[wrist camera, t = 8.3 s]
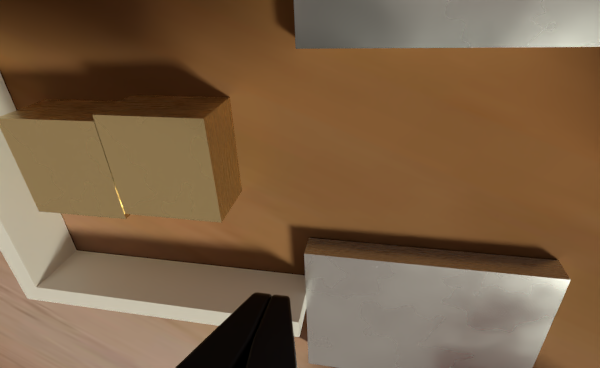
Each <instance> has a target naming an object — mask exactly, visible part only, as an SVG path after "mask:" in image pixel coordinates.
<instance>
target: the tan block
mask: <svg viewBox="0 0 600 368" xmlns="http://www.w3.org/2000/svg"><path fill="white" fill-rule="evenodd" d="M93 118H94V121H95V124H96V128H97V131H98V134H99V137H100V140H101V143H102V146H103V149H104V152H105V155H106V158H107V161H108V164H109V167H110V170H111V173H112V176H113V179H114V182H115V186H116V189H117V192H118V195H119V198H120V201H121V204H122V207H123V210H124V213H125V214H134V215H145V216H156V217H167V218H178V219H188V220H199V221H210V222H221V223H222V221H223V219H224V218H225V216H226V215H227V213H228V212H229V210H230V209H231V207H232V206H233V204H234V202H235V201H236V199H237V198H238V196H239V195H240V193H241V192H242V187H241V179H240V172H239V164H238V156H237V149H236V141H235V134H234V126H233V118H232V111H231V103H230V97H198V96H153V95H131V96H129V97H127V98H125V99H123V100H121V101H119V102H117V103H115V104H113V105H111V106H109V107H107V108H105V109H103V110H101V111H99V112H97V113H95V114H93Z"/></svg>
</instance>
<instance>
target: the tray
mask: <svg viewBox="0 0 600 368" xmlns="http://www.w3.org/2000/svg"><path fill="white" fill-rule="evenodd" d="M14 111H16V108H15V106H14V103H13V101H12V99H11V96H10V94H9V92H8V89H7V87H6V85H5V82H4V80H3V78H2V75H1V73H0V116H3V115H6V114H8V113H11V112H14ZM0 250H1V252H2V254H3V256H4V257H5V259H6V261H7V263H8V265H9V266H10V268H11V270H12V272H13V274H14V275H15V277H16V279H17V281H18V283H19V284H20V286H21V288H22V290H23V291H24V293H25V295H26V297H27V299H33V300H40V301H47V302H55V303H62V304H69V305H76V306H83V307H90V308H97V309H104V310H111V311H118V312H125V313H132V314H139V315H147V316H154V317H161V318H168V319H175V320H182V321H189V322H196V323H203V324H210V325H217V326H219V325H221V324H222V323H223V322H224V321H225V320H226V319H227V318H228V317H229V316H230V315H231V314H232V313H233V312H234V311H235V310H236V309H237V308H238V307H239V306H240V305H241V304H242V303H243V302H245V301H246V300H247V299H248V298H249V297H250V296H251V295H252V294H253V293H255V292H259V293H267V294H271V295H272V296H273V295H275V294H276V295H284V296H288V297H289V298H290V304H291V314H292V323H293V333H294V336H295V337H300V333H301V329H302V324H303V320H304V315H305V311H306V286H305V275H297V274H288V273H279V272H270V271H260V270H251V269H242V268H233V267H224V266H215V265H206V264H196V263H187V262H178V261H169V260H160V259H151V258H142V257H133V256H123V255H114V254H105V253H96V252H87V251H78V250H76V248H75V246H74V243H73V241H72V239H71V236H70V234H69V232H68V229H67V227H66V225H65V222H64V220H63V218H62V215H61V213H51V212H40V211H39V210H38V208H37V206H36V204H35V202H34V200H33V198H32V195H31V193H30V191H29V189H28V187H27V185H26V182H25V180H24V178H23V176H22V174H21V172H20V170H19V167H18V165H17V163H16V161H15V159H14V157H13V154H12V152H11V150H10V148H9V146H8V144H7V142H6V139H5V137H4V135H3V133H2V131H1V129H0Z"/></svg>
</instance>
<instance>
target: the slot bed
mask: <svg viewBox="0 0 600 368" xmlns="http://www.w3.org/2000/svg"><path fill="white" fill-rule="evenodd" d="M294 18H295V43H296V49H297V48H475V47H600V0H294ZM304 262H305V286H306V310H307V335H308V359H309V363H311V364H317V365H324V366H330V367H337V368H532V367H533V365H534V363H535V361H536V358H537V356H538V354H539V351H540V349H541V347H542V344H543V342H544V340H545V338H546V335H547V333H548V331H549V328H550V326H551V324H552V321H553V319H554V317H555V315H556V312H557V310H558V308H559V305H560V303H561V301H562V299H563V296H564V294H565V292H566V289H567V287H568V285H569V282H570V278H569V276H568V275H567V273H566V272H565V270H564V268H563V267H562V265H561V263H560V262H559V260H550V259H539V258H528V257H517V256H506V255H495V254H484V253H473V252H462V251H451V250H440V249H429V248H417V247H406V246H395V245H384V244H373V243H362V242H351V241H340V240H329V239H318V238H308V242H307V245H306V249H305V252H304Z"/></svg>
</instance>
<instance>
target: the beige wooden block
mask: <svg viewBox="0 0 600 368" xmlns="http://www.w3.org/2000/svg"><path fill="white" fill-rule="evenodd" d="M117 102H119V101H100V100H50V99H45V100H43V101H40V102H37V103H35V104H32V105H29V106H27V107H24V108H21V109H19V110H16V111H14V112H11V113H8V114H6V115H3V116H0V129H1V131H2V133H3V135H4V137H5V139H6V142H7V144H8V146H9V148H10V150H11V152H12V154H13V157H14V159H15V161H16V163H17V165H18V167H19V170H20V172H21V174H22V176H23V178H24V180H25V182H26V185H27V187H28V189H29V191H30V193H31V195H32V198H33V200H34V202H35V204H36V206H37V208H38V210H39V211H40V212H51V213H63V214H75V215H86V216H98V217H109V218H121V219H126V218H127V217H128V216H129V215H130V214H125V213H124V210H123V207H122V204H121V201H120V198H119V195H118V192H117V189H116V186H115V182H114V179H113V176H112V173H111V170H110V167H109V164H108V161H107V158H106V155H105V152H104V149H103V146H102V143H101V140H100V137H99V134H98V131H97V128H96V124H95V121H94V118H93V114H95V113H97V112H99V111H101V110H103V109H105V108H107V107H109V106H111V105H113V104H115V103H117Z"/></svg>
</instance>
